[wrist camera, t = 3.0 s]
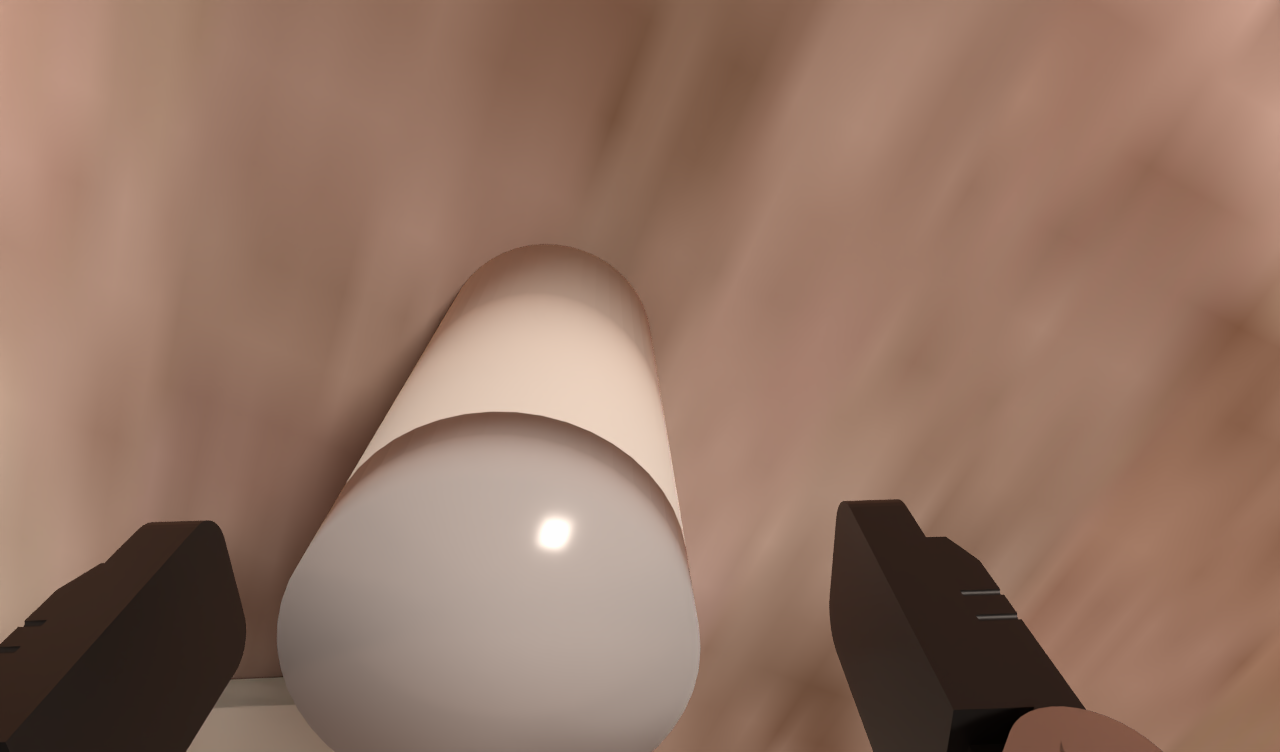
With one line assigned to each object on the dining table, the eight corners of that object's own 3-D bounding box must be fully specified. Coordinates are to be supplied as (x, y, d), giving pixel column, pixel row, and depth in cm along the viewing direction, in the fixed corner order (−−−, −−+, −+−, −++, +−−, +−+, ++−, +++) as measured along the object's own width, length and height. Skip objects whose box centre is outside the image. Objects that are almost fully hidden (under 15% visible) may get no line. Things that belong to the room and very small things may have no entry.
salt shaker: (458, 438, 19) (317, 818, 10) (435, 247, 17) (235, 485, 8) (652, 431, 19) (699, 798, 10) (649, 240, 17) (702, 467, 8)
